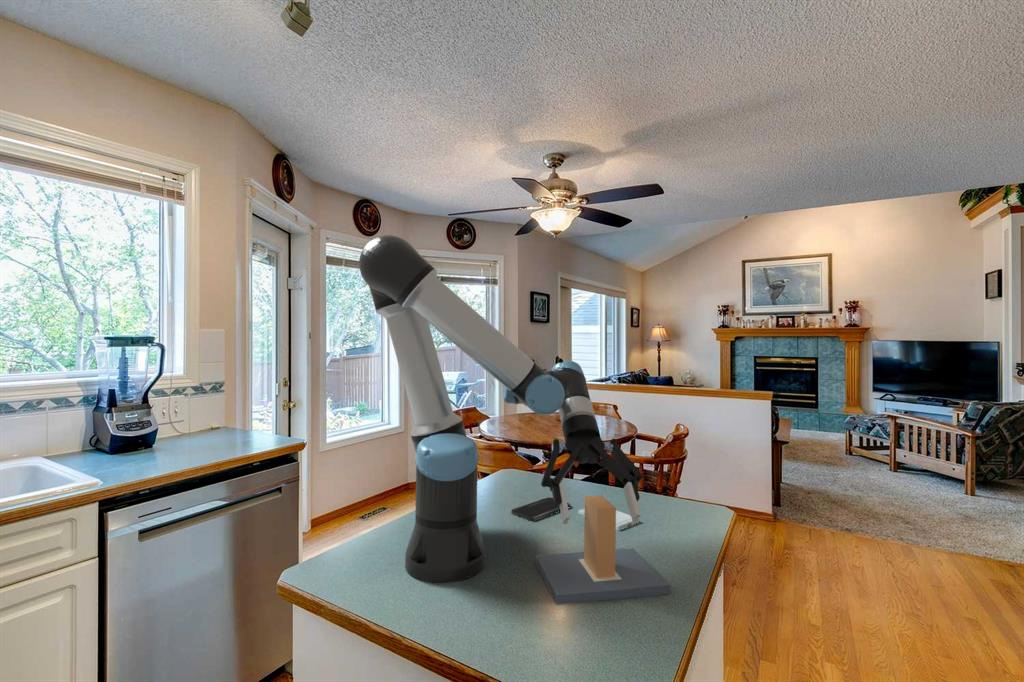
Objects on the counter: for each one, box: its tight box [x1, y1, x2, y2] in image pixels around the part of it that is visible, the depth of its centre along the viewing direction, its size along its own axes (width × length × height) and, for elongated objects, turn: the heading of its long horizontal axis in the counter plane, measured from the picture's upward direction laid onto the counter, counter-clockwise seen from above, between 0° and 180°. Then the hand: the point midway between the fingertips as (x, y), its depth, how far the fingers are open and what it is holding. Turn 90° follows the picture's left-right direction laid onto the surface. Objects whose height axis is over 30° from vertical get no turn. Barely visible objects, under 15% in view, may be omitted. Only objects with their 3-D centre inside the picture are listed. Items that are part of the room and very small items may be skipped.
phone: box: [510, 497, 571, 522], centre depth 115 cm, size 8×1×15 cm
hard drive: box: [577, 507, 641, 531], centre depth 110 cm, size 2×8×12 cm
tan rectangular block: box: [583, 495, 617, 578], centre depth 82 cm, size 3×6×12 cm, turn 11°
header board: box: [535, 547, 671, 606], centre depth 82 cm, size 20×14×4 cm
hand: (602, 519), depth 83 cm, fingers open, 13 cm apart
